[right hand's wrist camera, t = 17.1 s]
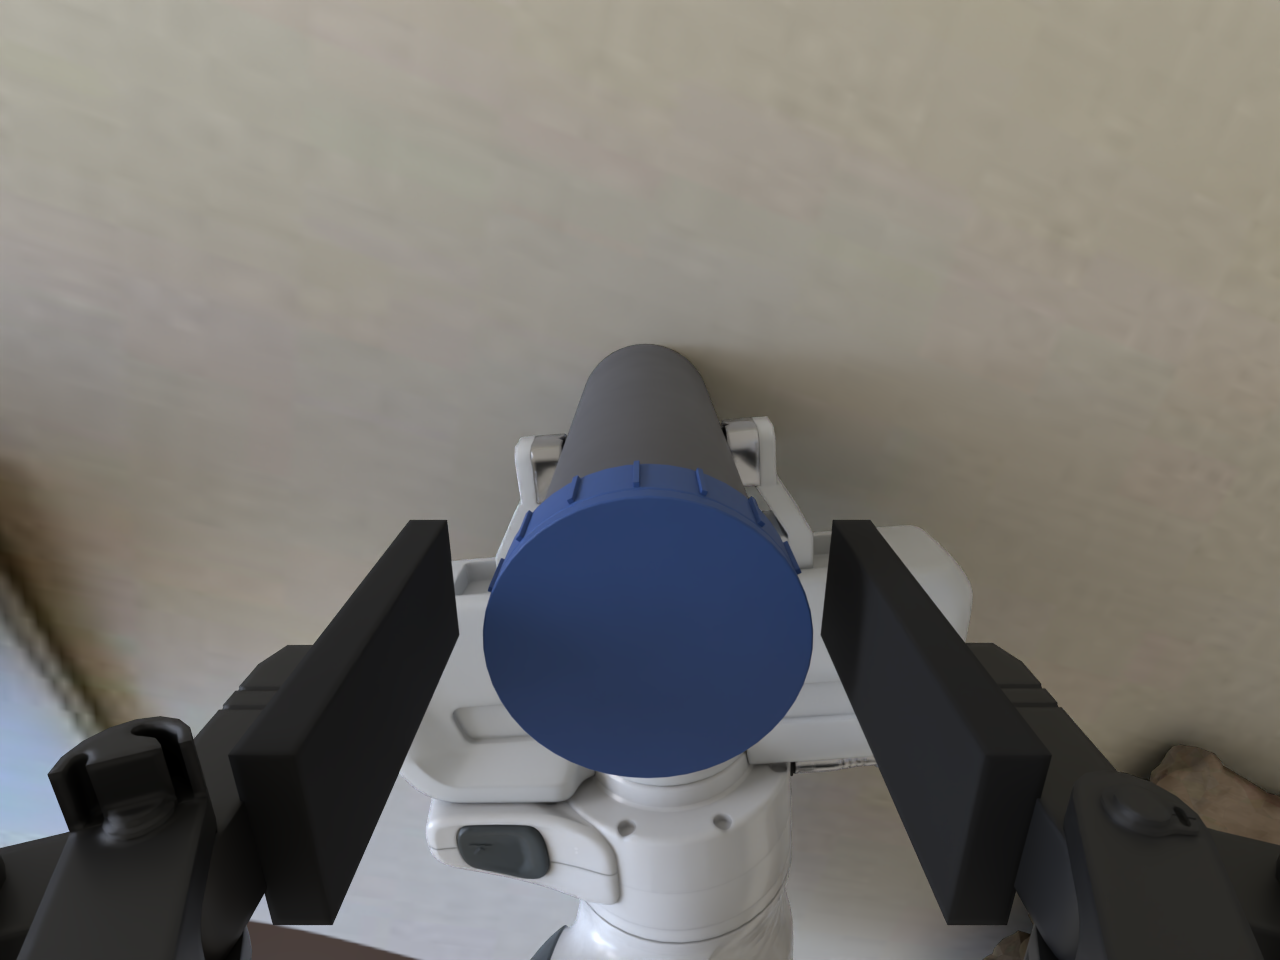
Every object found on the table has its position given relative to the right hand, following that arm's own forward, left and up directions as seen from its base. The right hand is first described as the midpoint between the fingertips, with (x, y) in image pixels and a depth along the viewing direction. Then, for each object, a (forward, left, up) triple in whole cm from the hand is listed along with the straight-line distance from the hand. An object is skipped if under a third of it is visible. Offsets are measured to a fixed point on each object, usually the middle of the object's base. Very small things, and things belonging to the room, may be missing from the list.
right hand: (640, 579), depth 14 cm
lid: (0, 0, +2) cm, 2 cm away
